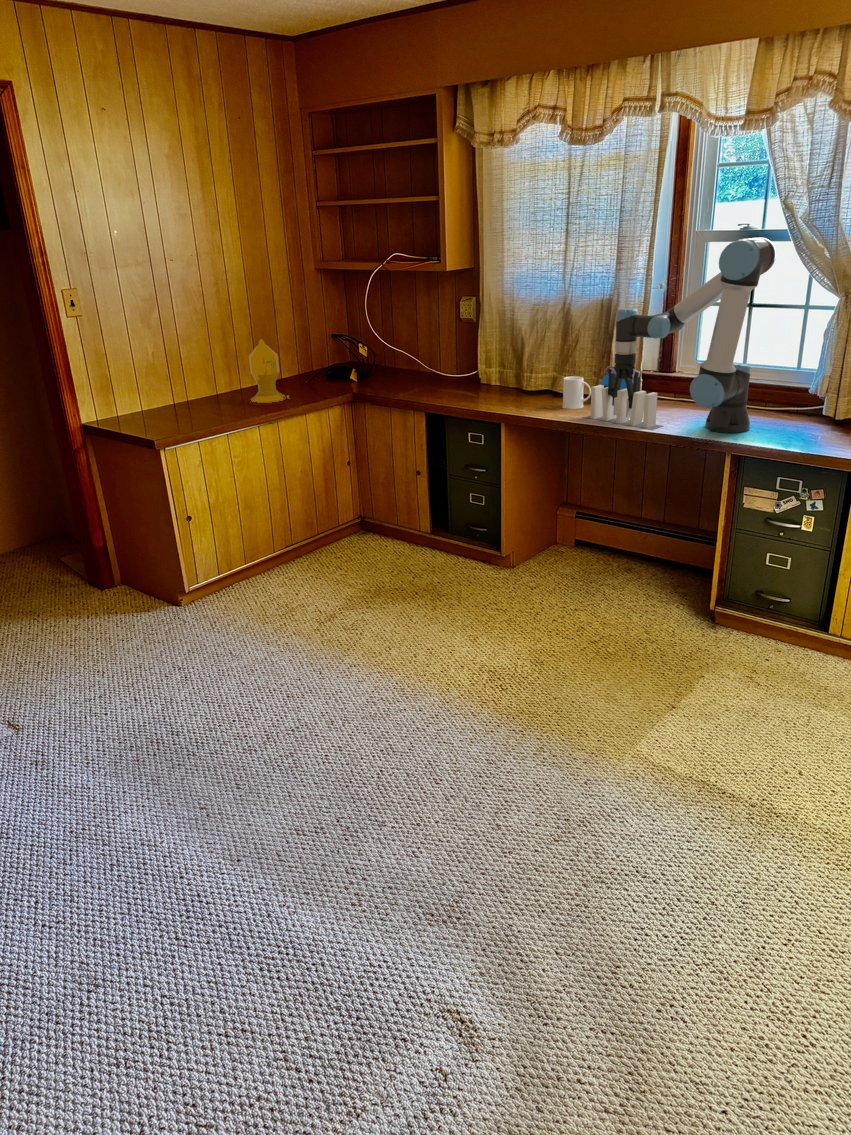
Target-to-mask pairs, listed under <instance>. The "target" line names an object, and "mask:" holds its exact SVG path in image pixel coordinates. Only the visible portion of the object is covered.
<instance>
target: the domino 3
mask: <svg viewBox="0 0 851 1135" xmlns="http://www.w3.org/2000/svg"><path fill="white" fill-rule="evenodd" d="M627 399H628V392H627V389H622V390H619V391H618V392H617V415H615V418H616V423H623V422H626V421H629V420H630V417H628V418H627V417H626V402H627Z"/></svg>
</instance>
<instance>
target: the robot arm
mask: <svg viewBox="0 0 851 1135" xmlns="http://www.w3.org/2000/svg"><path fill="white" fill-rule="evenodd" d="M776 250H777V249H776V247H775V245H774V243H773V242H772V241H771V240H770V239H768V238H766V237H762V236H761V237H760V236H759V237H758V236H757V237H752V238H751V237H750V238H739V239H737V240H735V241H731V242H730V243H729V244H728V245H726V246H725V247H724V249H723V250H722V251H721V253H720V255H719V259H718V268H719V270H720V272H718V273H717V274H716V275H715V276H713V277H712V278H710V279H709V280H708V281H707V282H705V283H704V284H702V285H701V286H699V287H698V288H697V289H695V290H694V291H692V292H691V293H690V294H689V295H687V296H685V298H683V299H682V300H680V301H679V302H678V303H676V304H675V305H673V306H672V307H671V308H670V309H668V310H667V311H665V312H661V313H657V314H653V315H643V314H639V310H638V309H637V308H632V307H624V308H619V309H618V310H617V312H616V318H615V341H614V342H615V343H614V366H613V367H614V368H610V369H608V373H607V374H609V382H608V395H610V396H612V405H613V406H614V411H613V415H615V416H617V392H618V391H619V390H620V387H621V383H622V380H623V379H625V382H626V386H627V392H628V399H627V402H626V417H627V418H628V417H629V418H630V417H631V409H632V402H633V395H634V393H635V392H638V391H641V390H640V389H641V377H642V372H643V371H642V370H639V371H638V370H637V369H636V367H635V364H636V361H637V360H636V358H637V354H636V351H637V340H638V338H648V339H655V340H657V339H665V338H666V337H667V336H668V335H669V334H674V333H677V332H679V331H681V330H682V329H683V328H684V327H685V325H686V324H687V323H689V322H690V321H692V320H693V319H694V318H695V317H697V316H699V315H700V314H701V313H703V312H704V311H706V310H707V309H709V308H710V307H711V306H713V305H714V304H715V303H717V302H719V307H718V310H717V314H716V318H715V323H714V325H713V326H714V328H713V331H712V336H711V340H710V345H709V348H708V352H707V355H706V356H707V357H706V360H704V361H703V362H701V363H700V366H699V370H698V373H697V376H695V377H694V379H693V380H692V381H691V382H690V386H689V394H690V397H691V399H692V400H693V401H694V403H695V404H696V405H697V406H699V407H702V408H705V409H710V410H709V413H708V414H707V417H706V420H705V424H704V427H705V428H706V429H707V430H710V431H711V432H718V433H743V432H747V431H749V430H750V425H751V420H750V416H749V412H748V411H749V410H748V408H747V406H748V404H747V403H748V395H749V387H750V377H751V366H750V365H749V364H747V363H741V362H740V363H739V362H734V360H735V355H736V352H737V348H738V344H739V341H740V336H741V333H742V332H741V331H742V328H743V325H744V321H745V317H746V313H747V308H748V305H749V301H750V297H751V292H752V291H753V290H754V289H755V288H757V287H758V285H759V281H760V277H761V276H763V274H765V273H767V272H769V270H771V268H772V267H773V265H774V264H775V261H776V257H777V251H776ZM615 372H616V374H617V375H616V378H615ZM615 380H616V381H615Z"/></svg>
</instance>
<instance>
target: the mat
mask: <svg viewBox="0 0 851 1135" xmlns="http://www.w3.org/2000/svg"><path fill="white" fill-rule="evenodd" d="M582 419H585V420H592V421H597V422H601V423H602V422H604V423H608V424H613V425H615V424H616V425H620V426H626V427H631V428H637V429H641V430H648V431H655V430H657V429H661V428H664V427H665V425H661V424H656V425H655V426H652V427H649V428H643V421H642V423H641V424H637V425H634V426H632V425H629V424H630V419H629V421H626V422H623V423H616V417H615V418H614V419H611V420H608V421H603V417H599V418H596V419H592V418H591V414H590V415H586V416H583V417H582Z"/></svg>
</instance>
